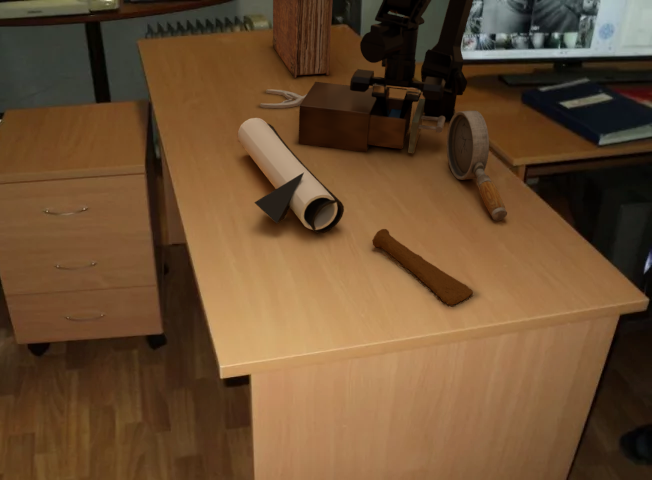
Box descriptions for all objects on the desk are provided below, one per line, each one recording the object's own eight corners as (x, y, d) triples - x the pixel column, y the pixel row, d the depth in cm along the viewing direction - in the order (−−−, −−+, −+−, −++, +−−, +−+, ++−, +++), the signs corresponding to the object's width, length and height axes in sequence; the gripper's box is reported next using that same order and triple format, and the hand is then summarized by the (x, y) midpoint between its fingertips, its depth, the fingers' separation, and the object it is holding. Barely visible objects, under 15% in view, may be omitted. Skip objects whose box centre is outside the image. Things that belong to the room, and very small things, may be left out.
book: (328, 76, 188) (335, -50, 171) (294, 78, 186) (297, -48, 169) (304, 44, 208) (307, -70, 191) (272, 47, 206) (273, -69, 189)
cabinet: (377, 126, 163) (380, 88, 158) (366, 152, 152) (369, 113, 147) (313, 118, 166) (315, 81, 161) (298, 143, 155) (299, 105, 150)
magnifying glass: (520, 188, 124) (472, 96, 139) (503, 190, 124) (457, 97, 139) (497, 239, 135) (455, 147, 150) (481, 240, 134) (441, 148, 149)
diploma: (255, 166, 154) (205, 137, 146) (281, 130, 151) (231, 98, 143) (322, 253, 127) (265, 223, 119) (355, 210, 124) (299, 177, 116)
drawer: (443, 131, 159) (448, 101, 155) (437, 156, 149) (442, 125, 145) (360, 121, 163) (362, 91, 159) (349, 145, 153) (351, 114, 149)
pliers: (266, 85, 178) (328, 89, 176) (266, 91, 179) (327, 95, 177) (260, 100, 170) (324, 105, 168) (260, 107, 171) (323, 111, 169)
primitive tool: (474, 294, 112) (478, 275, 110) (450, 308, 109) (454, 289, 107) (384, 241, 124) (386, 223, 122) (361, 252, 121) (362, 234, 119)
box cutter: (390, 119, 159) (391, 107, 157) (401, 120, 158) (402, 108, 157) (383, 136, 151) (384, 124, 150) (395, 138, 151) (396, 126, 149)
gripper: (452, 42, 149) (441, 114, 159) (362, 33, 153) (357, 104, 163) (447, 59, 141) (436, 135, 150) (352, 50, 145) (347, 124, 154)
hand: (393, 123), depth 154 cm, fingers closed on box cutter, 2 cm apart
